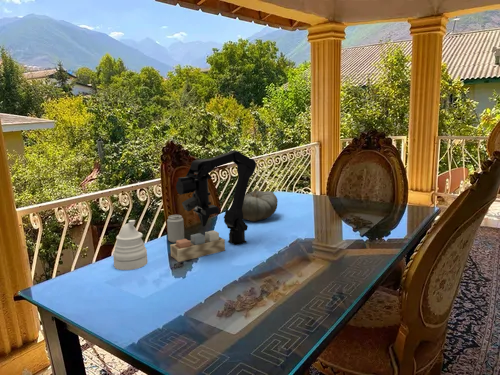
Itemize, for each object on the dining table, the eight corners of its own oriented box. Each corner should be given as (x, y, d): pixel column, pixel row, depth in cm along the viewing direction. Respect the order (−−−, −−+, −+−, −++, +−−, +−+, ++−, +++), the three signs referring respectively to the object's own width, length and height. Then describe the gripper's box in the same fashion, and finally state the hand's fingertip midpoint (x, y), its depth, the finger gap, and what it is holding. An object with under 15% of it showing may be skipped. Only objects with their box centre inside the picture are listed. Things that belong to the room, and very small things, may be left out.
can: (180, 243, 175) (179, 218, 172) (165, 242, 176) (164, 217, 174) (186, 238, 182) (185, 214, 179) (172, 237, 183) (170, 213, 181)
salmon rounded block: (186, 249, 161) (185, 238, 160) (190, 252, 158) (190, 241, 157) (176, 252, 159) (175, 240, 158) (180, 255, 155) (180, 243, 154)
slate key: (200, 244, 165) (200, 233, 164) (205, 247, 161) (204, 235, 160) (191, 246, 162) (190, 235, 161) (195, 249, 159) (195, 237, 158)
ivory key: (214, 241, 169) (213, 230, 168) (219, 243, 165) (218, 232, 164) (205, 243, 166) (204, 232, 165) (210, 245, 163) (209, 234, 162)
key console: (216, 245, 172) (215, 234, 171) (225, 250, 165) (224, 239, 164) (171, 256, 160) (170, 244, 159) (178, 262, 153) (178, 250, 152)
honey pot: (153, 259, 156) (151, 217, 153) (134, 271, 144) (131, 226, 141) (127, 256, 160) (124, 215, 157) (107, 267, 149) (102, 223, 145)
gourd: (287, 211, 218) (282, 182, 214) (266, 229, 199) (260, 198, 194) (251, 210, 232) (246, 183, 228) (228, 227, 213) (221, 198, 208)
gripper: (174, 189, 162) (177, 224, 165) (193, 197, 147) (196, 235, 150) (198, 185, 168) (200, 219, 171) (218, 193, 153) (220, 230, 156)
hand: (203, 226), depth 162 cm, fingers closed
